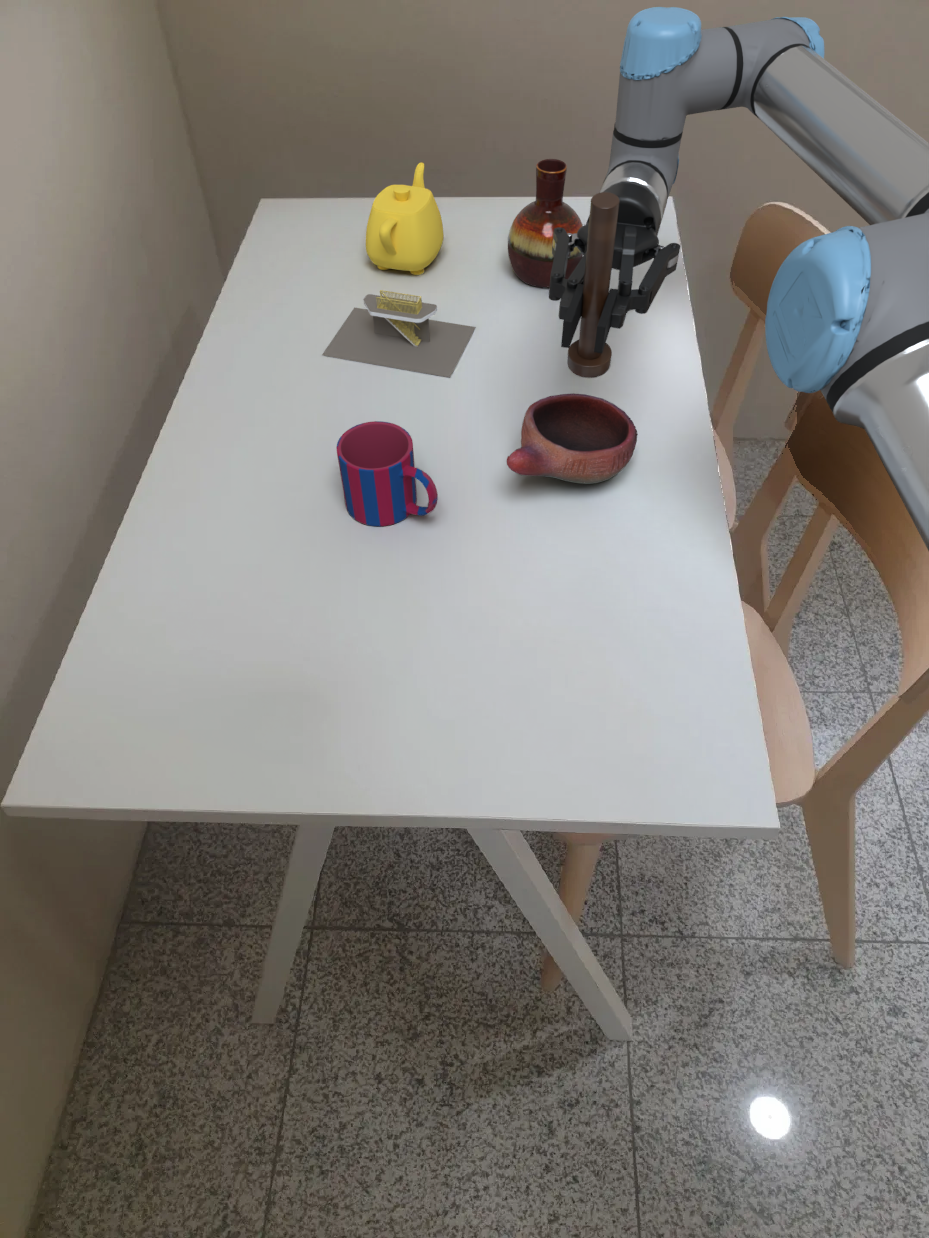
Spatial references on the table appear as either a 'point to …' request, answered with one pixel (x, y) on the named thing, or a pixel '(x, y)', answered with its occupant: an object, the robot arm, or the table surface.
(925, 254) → the robot arm
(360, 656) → the table surface
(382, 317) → the platform
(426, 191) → the teapot
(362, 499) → the mug
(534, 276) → the vase
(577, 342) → the muddler
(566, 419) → the bowl
